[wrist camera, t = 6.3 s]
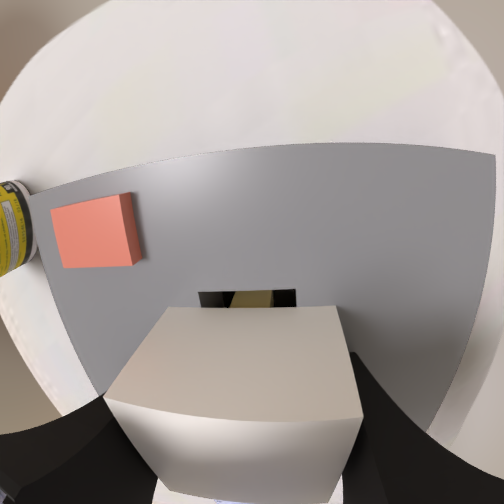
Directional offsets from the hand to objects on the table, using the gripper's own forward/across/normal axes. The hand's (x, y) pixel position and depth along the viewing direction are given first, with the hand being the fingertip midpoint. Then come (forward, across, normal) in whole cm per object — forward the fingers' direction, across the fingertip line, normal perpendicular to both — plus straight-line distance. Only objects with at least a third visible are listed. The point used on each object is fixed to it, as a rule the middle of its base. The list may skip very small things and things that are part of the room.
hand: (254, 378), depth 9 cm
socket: (+3, 0, 0) cm, 3 cm away
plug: (+2, 0, 0) cm, 2 cm away
